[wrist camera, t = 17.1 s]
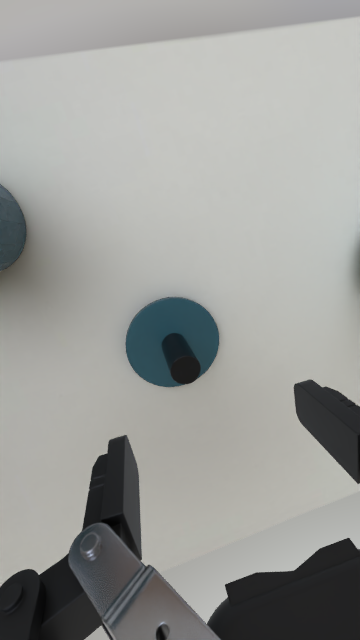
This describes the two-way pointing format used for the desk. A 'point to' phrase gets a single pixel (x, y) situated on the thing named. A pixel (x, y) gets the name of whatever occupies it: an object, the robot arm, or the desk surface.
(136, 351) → the lid
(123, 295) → the desk surface
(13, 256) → the pot
